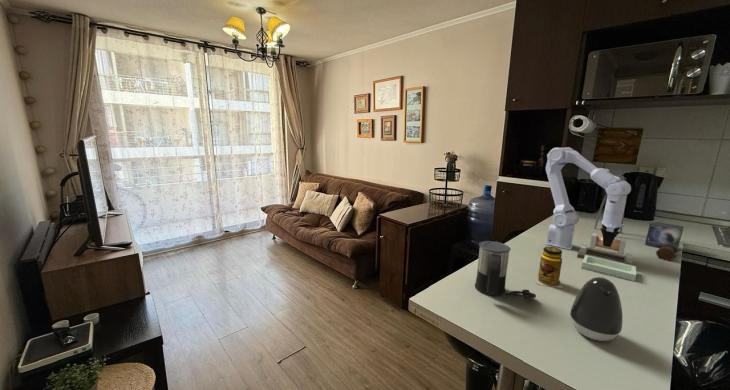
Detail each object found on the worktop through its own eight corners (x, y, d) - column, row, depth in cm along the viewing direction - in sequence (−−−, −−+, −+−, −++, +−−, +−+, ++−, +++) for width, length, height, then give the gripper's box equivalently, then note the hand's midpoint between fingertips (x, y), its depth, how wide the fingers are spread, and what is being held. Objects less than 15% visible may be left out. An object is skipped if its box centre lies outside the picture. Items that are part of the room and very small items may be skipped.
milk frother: (470, 281, 100) (474, 240, 97) (517, 282, 100) (523, 241, 97) (485, 305, 86) (491, 258, 83) (540, 307, 86) (548, 259, 83)
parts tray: (581, 268, 111) (582, 262, 111) (584, 260, 118) (585, 255, 117) (634, 281, 102) (636, 275, 101) (634, 272, 108) (635, 266, 108)
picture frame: (644, 245, 136) (649, 223, 134) (646, 241, 140) (651, 220, 138) (677, 252, 128) (682, 229, 126) (678, 248, 132) (683, 226, 130)
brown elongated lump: (671, 256, 129) (665, 263, 120) (658, 247, 132) (652, 254, 122) (684, 247, 125) (678, 254, 116) (670, 238, 128) (664, 245, 119)
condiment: (537, 284, 99) (542, 250, 96) (533, 273, 107) (538, 242, 104) (563, 289, 96) (569, 254, 94) (557, 277, 104) (562, 245, 101)
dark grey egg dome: (574, 341, 72) (585, 284, 68) (563, 317, 81) (572, 266, 78) (626, 353, 68) (640, 293, 65) (608, 326, 78) (620, 273, 74)
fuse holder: (577, 257, 121) (578, 249, 120) (580, 249, 129) (581, 242, 128) (632, 270, 110) (634, 261, 109) (632, 261, 118) (634, 252, 117)
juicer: (594, 228, 158) (604, 173, 152) (621, 232, 152) (633, 175, 146) (594, 233, 151) (605, 175, 144) (623, 238, 144) (636, 177, 138)
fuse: (589, 247, 120) (591, 235, 119) (590, 244, 124) (593, 232, 123) (623, 254, 113) (625, 242, 113) (623, 251, 117) (625, 239, 116)
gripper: (627, 217, 108) (619, 252, 110) (627, 210, 118) (620, 242, 121) (602, 214, 112) (595, 247, 115) (604, 207, 123) (598, 237, 126)
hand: (606, 244), depth 118 cm, fingers closed on fuse, 4 cm apart
